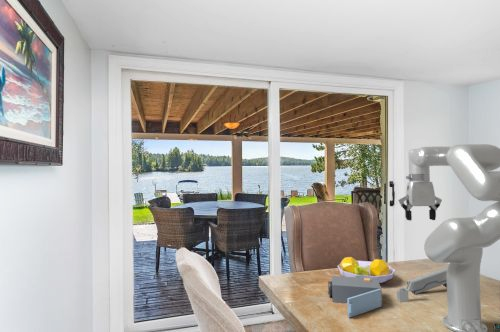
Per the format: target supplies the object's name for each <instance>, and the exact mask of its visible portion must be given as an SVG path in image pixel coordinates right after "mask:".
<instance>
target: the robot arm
mask: <svg viewBox="0 0 500 332" xmlns="http://www.w3.org/2000/svg"><path fill="white" fill-rule="evenodd" d="M436 166H437V167H438V166H439V167H440V166H444V167H446V166H447V167H451V169H452V171H453V172H454V174H455V175H456V177H457V178H458V180H459V181H460V182H461V184H462V185H463V186H464V188H465V189H466V190H467V192H468V193H469V194H470V195H471V196H472V197H473V198H474V199H475V200H478V201H481V202H494V203H492V204H490V205H488V206H487V207H485V208H484V209H483V210H482V211H481V212H480V213H478V214H476V215H475V216H469V217H453V218H448V219H446V220H444V221H442V223H441V224H439V225H438V226H437V227H436V228H435V229H434V230H433V231H432V232H431V233H430V234H429V235H428V236H427V238H425V240H424V245H423V246H424V247H423V248H424V249H423V250H424V253H425V255H426V256H427V258H428V259H429V260H431V261H432V262H434V263H438V264H447V263H448V267H446V268H447V274H446V276H447V288H446V300H447V301H446V302H447V303H446V305H447V307H446V308H447V315H445V316H444V317H443V318H442V324H443V325H444V326H445V327H446V328H447V329H449V330H451V331H454V332H488V326H487V325H486V324H484V323H483V322H482V302H481V300H482V299H481V298H482V297H481V263H482V258H483V250H484V249H483V248H488V247H490V246H492V245H494V244H495V243H496V242H498V241H499V240H500V170H499V171H495V170H498V168H500V148H499V147H498V146H495V145H492V144H479V143H478V144H455V145H453V146H421V147H419V148H414V149H412V148H411V149H410V150H409V151H408V175H406V176H405V179H406V180H408V182H407V185H406V191H405V196H403V197H401V198H399V199H397V200H398V203H399V205H400V206H401V208H402V209H403V210H404V212H405V213H404V215H405V219H406V221H407V220H408V221H410V222H411V221H412V219H413V216H412V210H411V209H412V208H413V207H428V208H429V211H428V212H429V214H428V215H429V216H428V217H429V220H432V221H436V218H437V212H436V211H438V208H439V207H440V206H441V203H442V201H443V199H441V198H440V197H438V196H436V193H435V187H434V184H433V181H431V180H430V179H431V178H430V177H431V176H430V174H431V173H430V167H436ZM405 202H406V204H405Z"/></svg>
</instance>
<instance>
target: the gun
mask: <svg viewBox="0 0 500 332" xmlns="http://www.w3.org/2000/svg"><path fill="white" fill-rule="evenodd" d="M447 268H448V267H444V268H441V269H438V270H435V271H432V272H429V273H426V274H424V275H420V276H417V277H414V278H411V279H408V280H407V281H406V285H407V284H408V282H409V280H410V281H412V282H414V286H413V288H412V291H411V292H410V293H412V294H413V295H418V294H420V293H423V292H426V291H428V290H429V291H430V290H431V289H435V288H438V287H441V286H443V287H445V288H446V289H447V276H446V274H447Z"/></svg>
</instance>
